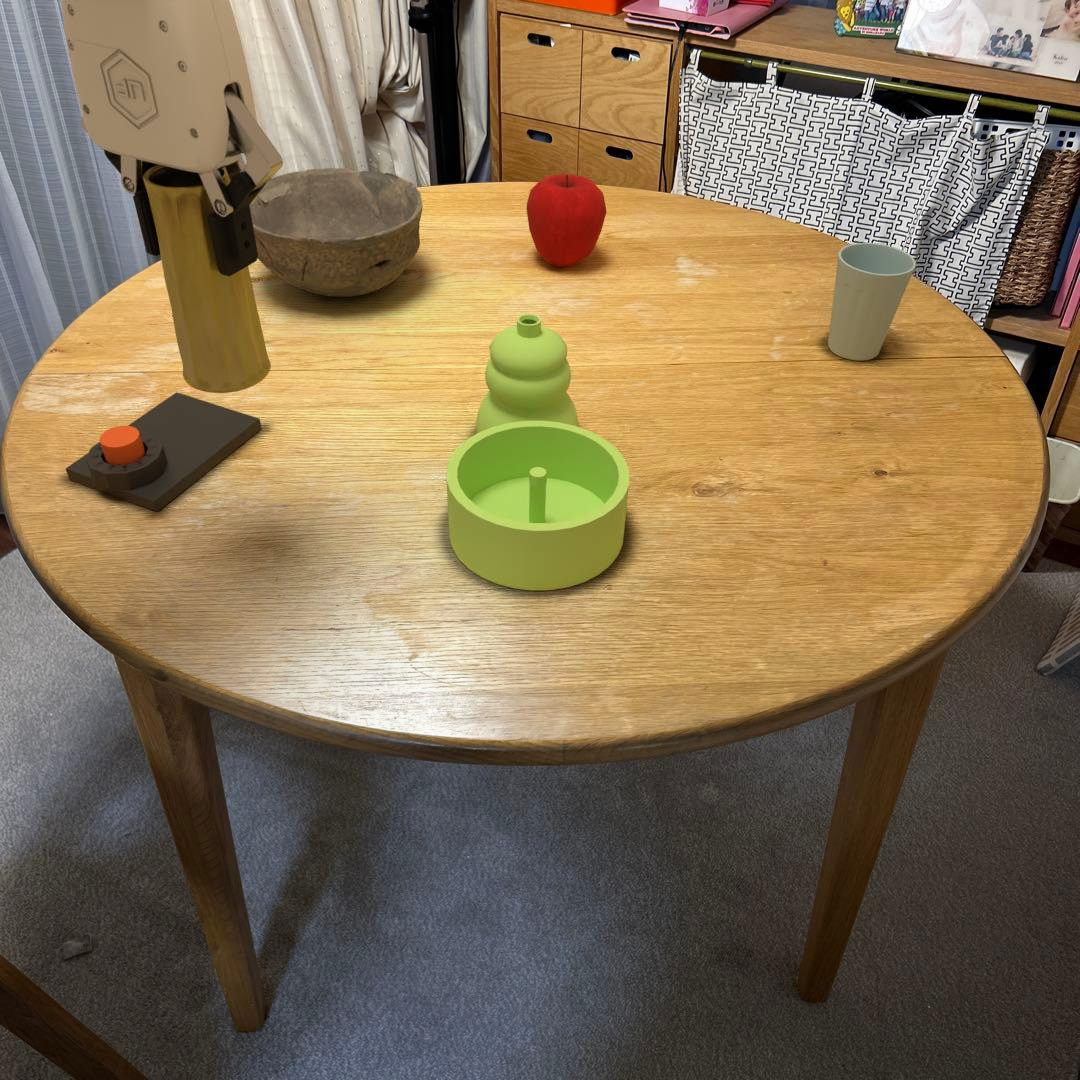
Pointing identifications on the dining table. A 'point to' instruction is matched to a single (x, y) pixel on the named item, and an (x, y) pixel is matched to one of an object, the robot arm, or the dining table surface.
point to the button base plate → (168, 451)
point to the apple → (565, 218)
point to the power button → (122, 445)
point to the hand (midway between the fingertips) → (202, 255)
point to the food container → (534, 474)
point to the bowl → (337, 229)
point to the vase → (204, 288)
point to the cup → (866, 297)
